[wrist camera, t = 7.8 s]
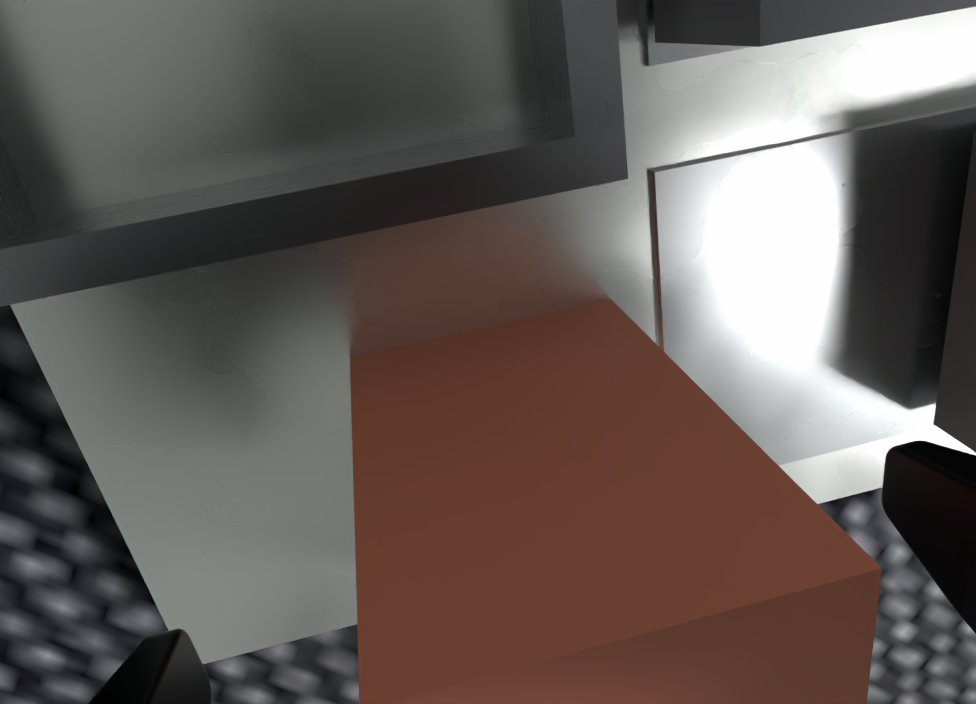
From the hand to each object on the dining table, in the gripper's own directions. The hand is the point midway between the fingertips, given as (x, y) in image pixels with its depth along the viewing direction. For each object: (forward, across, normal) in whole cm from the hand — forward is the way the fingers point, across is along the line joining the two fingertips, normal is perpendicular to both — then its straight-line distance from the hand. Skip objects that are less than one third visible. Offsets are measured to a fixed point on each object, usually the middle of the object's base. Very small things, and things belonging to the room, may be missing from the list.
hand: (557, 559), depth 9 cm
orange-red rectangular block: (+3, 0, 0) cm, 3 cm away
